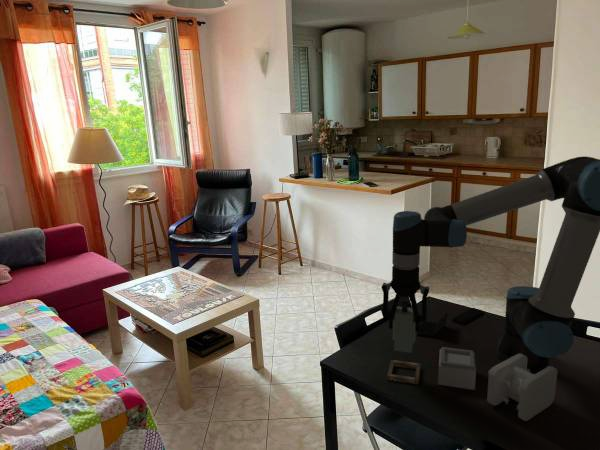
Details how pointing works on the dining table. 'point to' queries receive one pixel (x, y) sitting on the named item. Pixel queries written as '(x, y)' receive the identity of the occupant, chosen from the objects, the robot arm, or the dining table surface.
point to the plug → (403, 328)
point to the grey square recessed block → (457, 368)
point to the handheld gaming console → (432, 327)
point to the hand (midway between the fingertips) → (404, 339)
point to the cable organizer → (522, 386)
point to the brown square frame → (404, 378)
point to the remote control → (467, 316)
